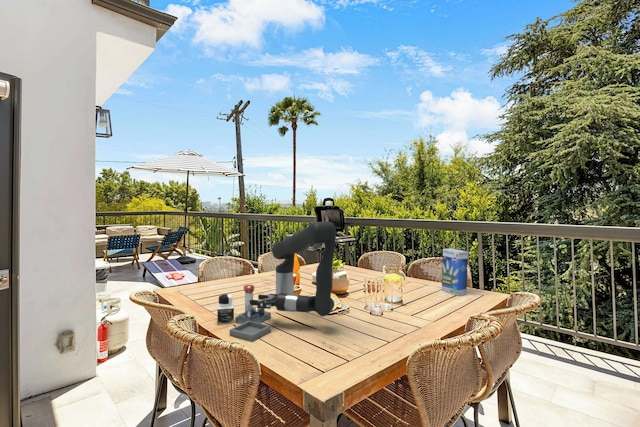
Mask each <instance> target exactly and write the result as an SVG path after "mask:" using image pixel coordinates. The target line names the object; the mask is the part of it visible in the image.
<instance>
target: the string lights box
mask: <svg viewBox="0 0 640 427" xmlns="http://www.w3.org/2000/svg"><path fill="white" fill-rule="evenodd" d="M468 260H469V251H465V250H461V249H455V248H451V247H450V248H449V247H448V248H442V264H441V266H442V270H441V291H442V292H445V293H449V294H451V295H454V296H457V297H459V296H465V295H467V290H468V289H467V286H468V284H467V282H468Z"/></svg>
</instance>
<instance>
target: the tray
mask: <svg viewBox="0 0 640 427" xmlns="http://www.w3.org/2000/svg"><path fill="white" fill-rule="evenodd" d="M271 332H272V326H271V325H269V324H265V323H262V322H261V323H257V322H253V321H247V322H245V323H243V324H239V325H237V326H234V327H232V328H230V329H229V336H230V337H233V338H237V339H241V340H244V341H249V342H251V343H252V342H254V341H257V340H258V339H260V338H262V337H264V336H266V335H267V334H269V333H271Z"/></svg>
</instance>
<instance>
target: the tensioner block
mask: <svg viewBox="0 0 640 427" xmlns="http://www.w3.org/2000/svg"><path fill="white" fill-rule="evenodd" d="M265 310H266V309H264V308H257V306H253V315H252V316H250V317H248V316H245V312H243V313H240V314H239V315H237V316H234V322H235V323H236V324H239V325H241V324H243V323H245V322H247V321H253V322H257V323H261V324H262V323H263V322H265V321H267V320H269V319H271V317H272V313H271V312H272V311H271V312H270V311H265Z"/></svg>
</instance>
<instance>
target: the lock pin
mask: <svg viewBox="0 0 640 427" xmlns="http://www.w3.org/2000/svg"><path fill="white" fill-rule="evenodd" d="M254 291H255V285H254V284H247V285H246V284H245V285H243V292H244V313H245V316H248V317H250V316H252V315H253V307H254V305H250V300H254Z"/></svg>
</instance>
